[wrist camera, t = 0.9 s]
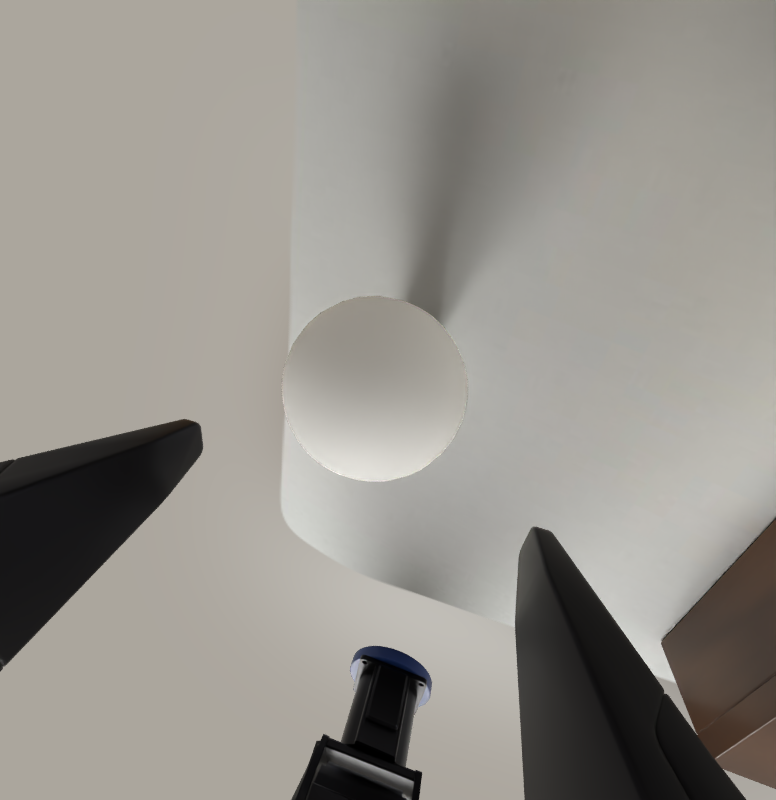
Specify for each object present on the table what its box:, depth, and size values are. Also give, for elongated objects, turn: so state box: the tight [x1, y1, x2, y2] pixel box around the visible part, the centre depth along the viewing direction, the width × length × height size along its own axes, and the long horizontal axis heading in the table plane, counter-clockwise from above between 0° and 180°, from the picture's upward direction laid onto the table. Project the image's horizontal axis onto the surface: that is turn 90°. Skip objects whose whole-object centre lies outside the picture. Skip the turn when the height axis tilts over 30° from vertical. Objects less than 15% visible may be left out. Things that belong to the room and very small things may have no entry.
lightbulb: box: [282, 296, 468, 482], centre depth 14 cm, size 6×6×11 cm
